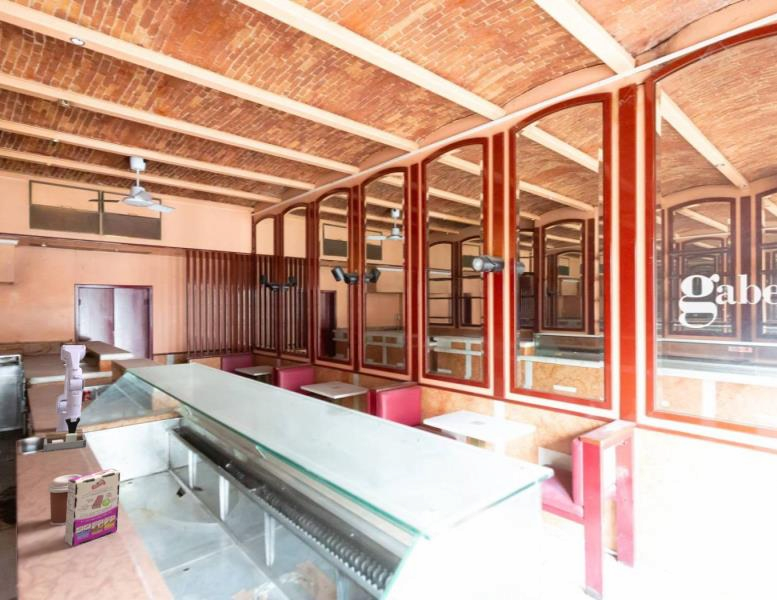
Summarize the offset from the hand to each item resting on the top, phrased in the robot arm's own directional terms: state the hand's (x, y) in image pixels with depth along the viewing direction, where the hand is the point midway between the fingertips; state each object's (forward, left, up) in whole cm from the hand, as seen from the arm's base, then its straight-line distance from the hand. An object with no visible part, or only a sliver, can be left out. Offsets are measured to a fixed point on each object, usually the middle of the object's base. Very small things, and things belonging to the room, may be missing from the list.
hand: (71, 434), depth 205 cm
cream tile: (+6, -5, -1) cm, 8 cm away
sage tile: (+4, 0, -1) cm, 4 cm away
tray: (+7, -3, -3) cm, 8 cm away
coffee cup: (+95, -4, -4) cm, 95 cm away
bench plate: (-6, -3, -3) cm, 8 cm away
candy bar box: (+110, +1, -4) cm, 110 cm away
